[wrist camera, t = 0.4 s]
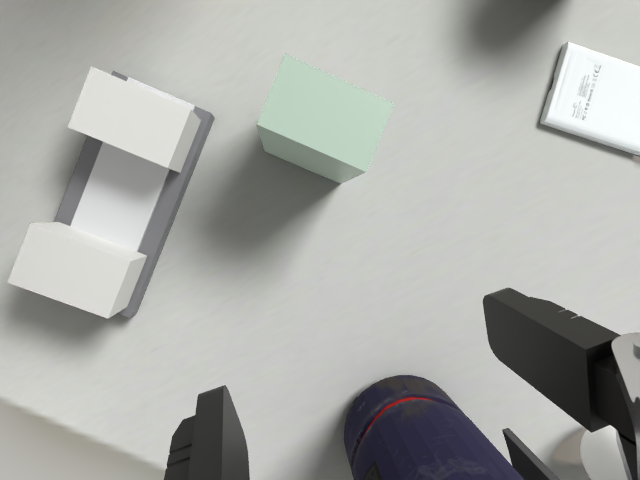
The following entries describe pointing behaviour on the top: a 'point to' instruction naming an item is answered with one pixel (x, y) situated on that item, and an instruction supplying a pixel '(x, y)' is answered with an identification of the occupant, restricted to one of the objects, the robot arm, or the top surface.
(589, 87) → the external hard drive
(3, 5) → the top surface
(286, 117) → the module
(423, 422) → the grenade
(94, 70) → the board
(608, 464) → the air blower bulb
